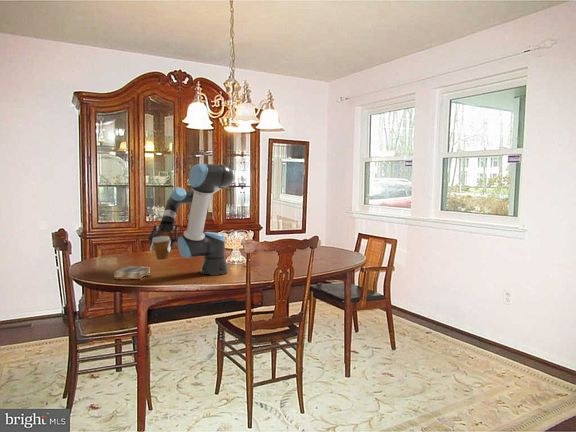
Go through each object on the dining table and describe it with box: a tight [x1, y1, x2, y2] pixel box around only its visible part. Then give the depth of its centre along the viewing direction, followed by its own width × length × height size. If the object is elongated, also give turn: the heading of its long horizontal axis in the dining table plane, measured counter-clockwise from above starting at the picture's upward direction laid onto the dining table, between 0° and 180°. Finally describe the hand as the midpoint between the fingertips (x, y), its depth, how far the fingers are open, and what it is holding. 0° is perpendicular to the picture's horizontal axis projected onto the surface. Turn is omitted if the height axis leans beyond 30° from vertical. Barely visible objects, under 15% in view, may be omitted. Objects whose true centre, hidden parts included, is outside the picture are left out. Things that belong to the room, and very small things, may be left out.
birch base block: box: [113, 265, 151, 278], centre depth 233 cm, size 14×14×4 cm
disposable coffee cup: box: [152, 235, 171, 261], centre depth 237 cm, size 10×10×12 cm
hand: (159, 250), depth 235 cm, fingers closed on disposable coffee cup, 9 cm apart
